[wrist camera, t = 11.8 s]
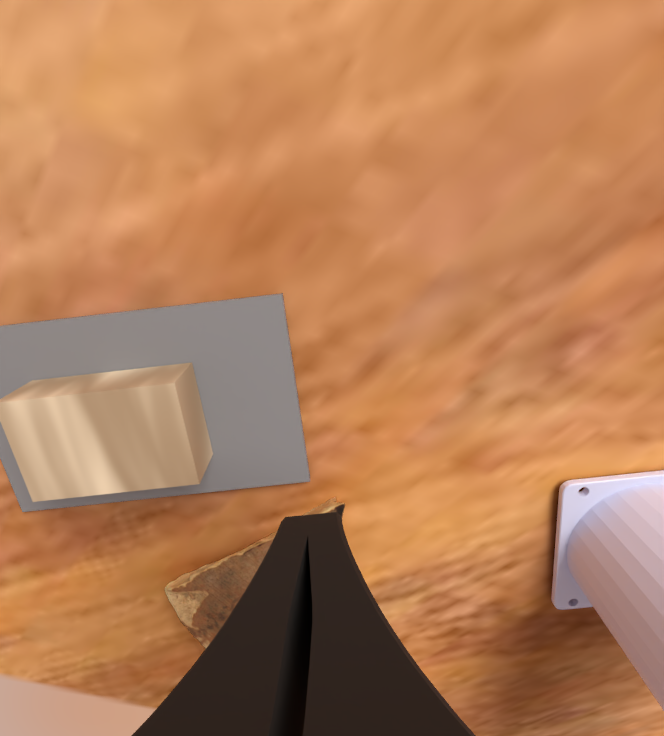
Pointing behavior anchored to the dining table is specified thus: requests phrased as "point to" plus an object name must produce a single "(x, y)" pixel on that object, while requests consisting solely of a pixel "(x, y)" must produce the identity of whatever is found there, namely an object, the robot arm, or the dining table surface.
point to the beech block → (108, 432)
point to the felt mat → (213, 376)
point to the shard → (222, 584)
